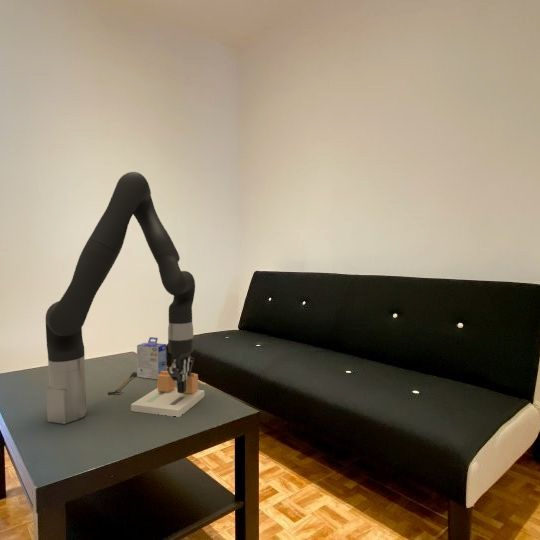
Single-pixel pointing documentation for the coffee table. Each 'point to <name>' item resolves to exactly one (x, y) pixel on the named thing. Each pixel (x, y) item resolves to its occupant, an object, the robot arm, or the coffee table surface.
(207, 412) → the coffee table surface
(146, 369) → the ink cartridge box
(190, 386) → the tab
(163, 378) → the tab
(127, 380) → the tactical tomahawk
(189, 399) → the switch bank
